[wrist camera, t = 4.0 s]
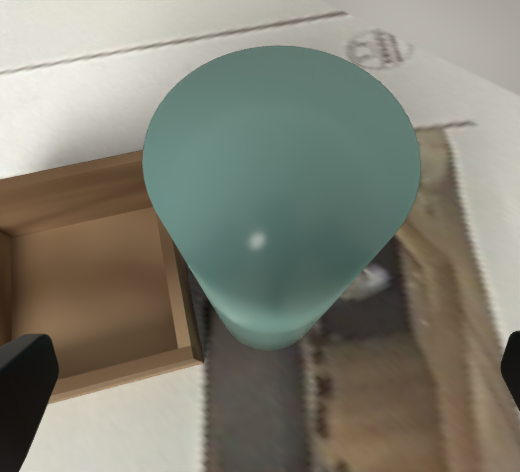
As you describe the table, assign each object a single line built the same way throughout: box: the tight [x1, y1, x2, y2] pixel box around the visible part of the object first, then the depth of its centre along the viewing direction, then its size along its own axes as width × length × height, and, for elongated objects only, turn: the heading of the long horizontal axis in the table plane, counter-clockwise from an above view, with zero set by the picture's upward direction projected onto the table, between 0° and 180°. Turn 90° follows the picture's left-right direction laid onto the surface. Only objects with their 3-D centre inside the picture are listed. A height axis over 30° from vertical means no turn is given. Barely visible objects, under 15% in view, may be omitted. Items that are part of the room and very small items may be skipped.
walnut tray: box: [0, 150, 204, 404], centre depth 16 cm, size 8×8×5 cm
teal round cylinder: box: [142, 46, 421, 351], centre depth 13 cm, size 5×5×12 cm
